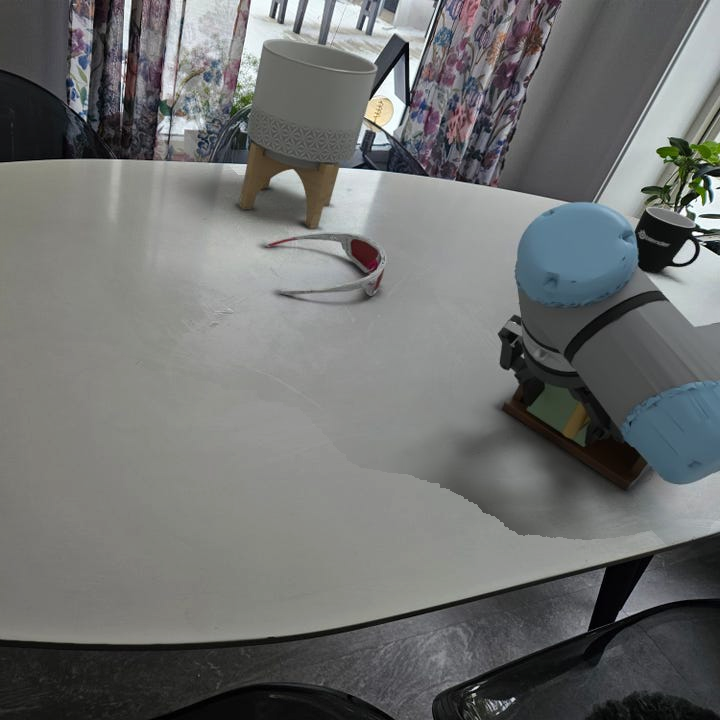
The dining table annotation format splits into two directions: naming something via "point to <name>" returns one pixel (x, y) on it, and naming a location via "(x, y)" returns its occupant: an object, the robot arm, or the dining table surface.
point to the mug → (663, 238)
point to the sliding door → (562, 413)
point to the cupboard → (587, 447)
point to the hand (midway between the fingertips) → (564, 415)
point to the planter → (305, 118)
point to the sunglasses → (360, 253)
